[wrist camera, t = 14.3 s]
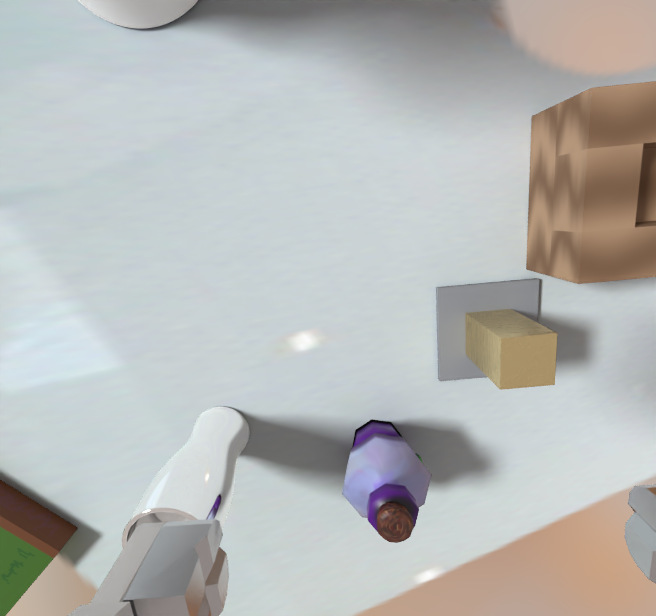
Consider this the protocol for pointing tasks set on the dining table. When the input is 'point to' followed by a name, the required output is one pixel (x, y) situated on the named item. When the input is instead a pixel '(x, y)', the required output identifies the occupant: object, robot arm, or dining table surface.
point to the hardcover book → (26, 543)
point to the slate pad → (475, 299)
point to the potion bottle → (385, 480)
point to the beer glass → (196, 474)
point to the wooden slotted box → (594, 186)
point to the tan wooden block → (511, 348)
